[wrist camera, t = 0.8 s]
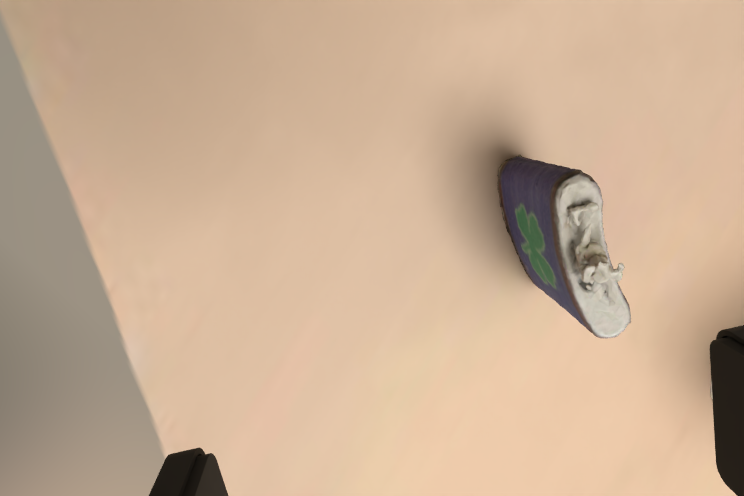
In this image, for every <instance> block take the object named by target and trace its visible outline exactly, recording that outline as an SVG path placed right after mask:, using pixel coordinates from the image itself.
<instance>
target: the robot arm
mask: <svg viewBox="0 0 744 496" xmlns="http://www.w3.org/2000/svg"><path fill="white" fill-rule="evenodd" d="M710 362H711V379H712V397H713V415H714V433H715V451H716V464H717V469H718V472H719V474H720V476H721V478H722V479H723V481H724V482H725V484H726V485H727V486H728V487H729V488H730V489H731V490H732V491H733V492H734V493H735V494H736V495H737V496H744V325H743V326H738V327H734V328H729V329H725V330H721V331H720V332H719V333H718V335H717V338H716V340H713V341H712V342H711V344H710ZM149 496H228V493H227V490H226V487H225V484H224V481H223V478H222V475H221V472H220V469H219V466H218V463H217V460H216V458H215V456H214V455H213V454H212V453H210V454H206V455H205V453H204V451H203V450H202V449H201V448H196V449H191V450H187V451H182V452H178V453H173V454H170V455H168V456H167V458H166V459H165V461H164V464H163V466H162V468H161V470H160V472H159V475H158V477H157V479H156V481H155V483H154V486H153V488H152V490H151V492H150V494H149Z"/></svg>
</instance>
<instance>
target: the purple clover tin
mask: <svg viewBox="0 0 744 496" xmlns="http://www.w3.org/2000/svg"><path fill="white" fill-rule="evenodd" d="M498 178H499V179H498V190H499V195H500V206H501V207H502V214H503V218H504V221H505V223H506V228H507V231H508V233H509V234H510V236H511V239H512V242H513V244H514V246H515V249H516V251H517V254H518V255H519V258H520V261H521V263H522V265H523V267H524V268H525V271H526V274H528V276H529V277H530V278H531V280H532V281H533V283H534V284H535V285H536V286H537V287H538V288H540V289H541V290H543V291H544V292H545V293H546V294H547V295H548V296H550V297H551V298H552V299H554V300H555V301H556V302H557V303H558V304H559V305H560V306H562V307H563V308H564V309H566V310H567V311H568V312H569V313H570V314H571V315H572V316H573V317H575V318H576V319H577V320H578V321H579V322H580V323H581V324H582V325H584V326H585V327H586V328H587V329H588V330H589V331H590V332H591V333H593V334H594V335H595V336H596V337H599V338H612V337H617V336H618V335H619V334H620V333H621V332H623V331H624V330H625V328H626V327H627V325H628V324H629V323H630V322H631V314H630V308H629V304H628V302H627V300H626V298H625V296H624V295H623V293H622V291H621V289H620V287H619V285H618V283H617V282H619V281H620V280H621V279H622V275H623V274H622V271H623V269H624V265H623V264H622V263H619V264H618V268H617V269H613V267H612V264H611V261H610V258H609V254H608V251H607V245H606V242H605V238H604V230H603V225H602V215H603V214H602V207H603V200H602V195H601V191H600V188H599V186H598V185H597V183H596V182H595V181H594V180H593V179H592V177H591V176H589V175H587V174H585V173H583V172H582V171H581V170H575V169H570V168H567V167H562V166H557V165H555V164H548V163H545V162H541V161H538V160H532V159H528V158H525V157H522V156H521V155H519V156H518V157H515V158H512V159H509V160H506V161H505V162H504V163H503V164H502V165H501V166H500V170H499V173H498Z"/></svg>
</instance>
